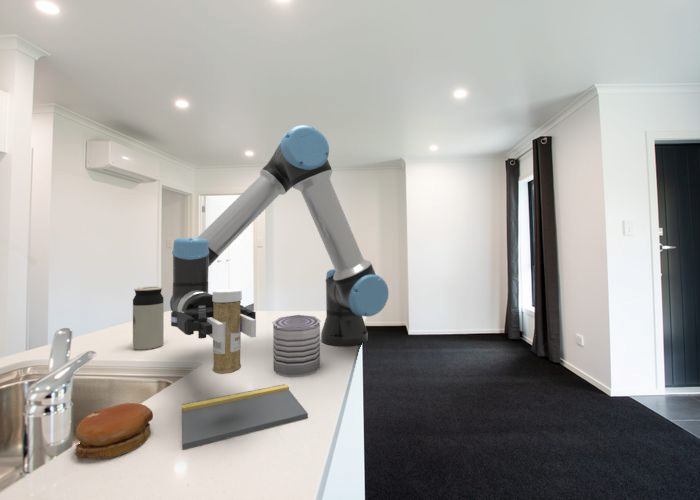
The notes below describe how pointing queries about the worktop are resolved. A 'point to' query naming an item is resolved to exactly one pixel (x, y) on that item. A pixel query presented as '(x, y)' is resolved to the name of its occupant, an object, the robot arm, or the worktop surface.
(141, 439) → the burger
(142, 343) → the travel mug
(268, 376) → the worktop surface
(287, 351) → the can
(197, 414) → the mat
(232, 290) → the sprinkles bottle
